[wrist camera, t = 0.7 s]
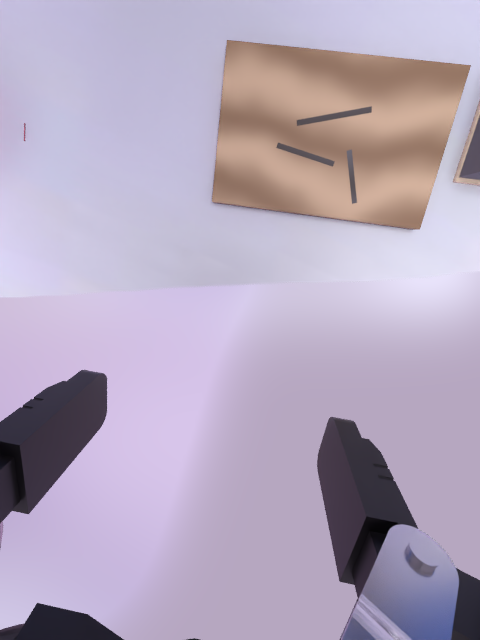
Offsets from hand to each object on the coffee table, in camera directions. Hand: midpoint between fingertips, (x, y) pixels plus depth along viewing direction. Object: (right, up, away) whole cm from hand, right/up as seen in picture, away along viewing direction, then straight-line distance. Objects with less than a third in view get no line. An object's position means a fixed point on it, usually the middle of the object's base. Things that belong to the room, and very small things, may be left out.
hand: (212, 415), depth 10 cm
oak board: (+10, +22, +19) cm, 31 cm away
